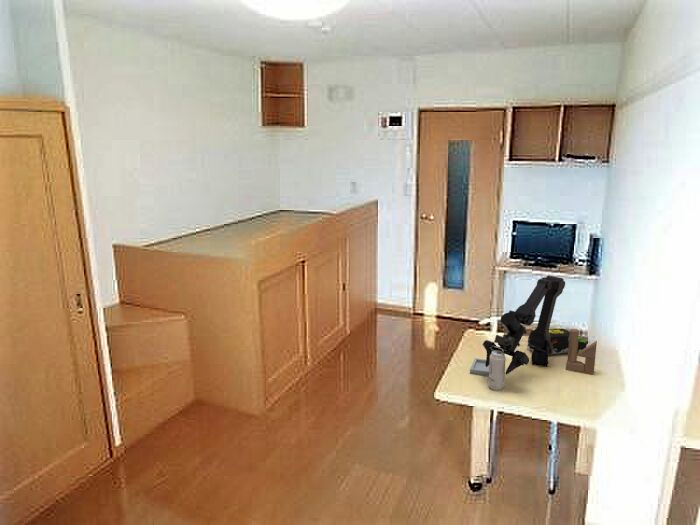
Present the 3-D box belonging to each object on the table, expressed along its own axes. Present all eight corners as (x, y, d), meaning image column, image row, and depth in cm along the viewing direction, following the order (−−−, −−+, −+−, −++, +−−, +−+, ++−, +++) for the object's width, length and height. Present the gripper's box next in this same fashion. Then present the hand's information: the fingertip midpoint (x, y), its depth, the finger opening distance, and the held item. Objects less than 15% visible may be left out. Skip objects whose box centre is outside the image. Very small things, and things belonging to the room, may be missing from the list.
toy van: (587, 353, 236) (589, 333, 234) (537, 358, 233) (538, 337, 230) (574, 345, 247) (575, 325, 244) (525, 349, 243) (527, 329, 240)
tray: (502, 366, 225) (502, 362, 225) (498, 378, 214) (499, 373, 214) (474, 362, 230) (474, 358, 229) (469, 373, 219) (470, 369, 218)
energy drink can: (486, 384, 209) (488, 350, 206) (501, 383, 209) (503, 349, 206) (490, 391, 203) (492, 356, 200) (505, 391, 203) (507, 355, 200)
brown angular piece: (593, 375, 215) (597, 334, 211) (565, 369, 221) (569, 330, 216) (594, 371, 218) (598, 331, 214) (566, 366, 224) (570, 327, 219)
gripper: (486, 321, 210) (468, 353, 206) (527, 333, 196) (509, 368, 192) (496, 334, 217) (479, 366, 213) (537, 347, 203) (519, 381, 199)
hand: (495, 370), depth 204 cm, fingers open, 9 cm apart
